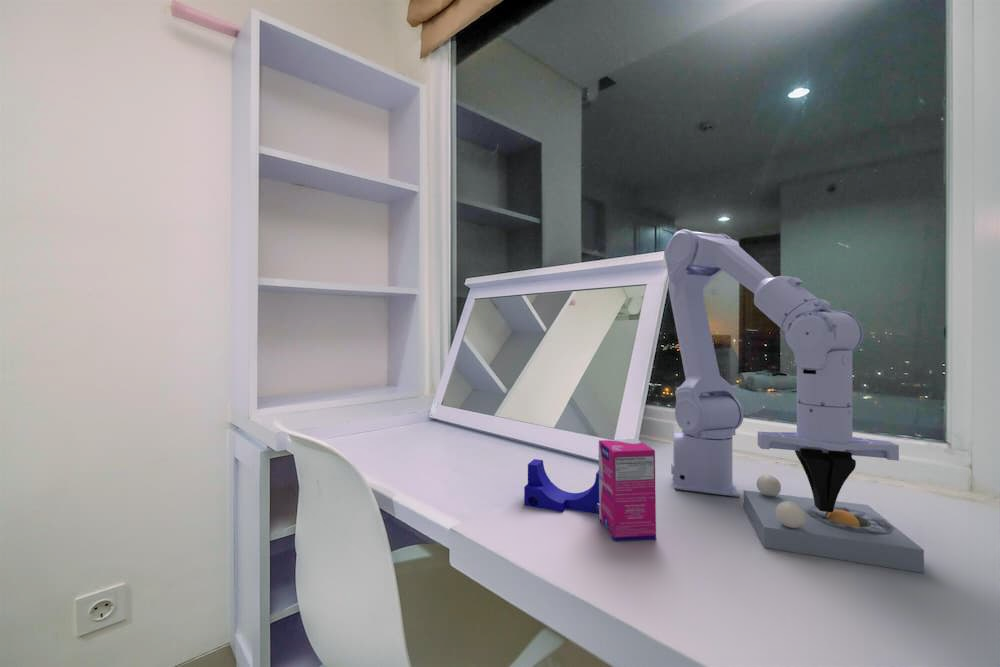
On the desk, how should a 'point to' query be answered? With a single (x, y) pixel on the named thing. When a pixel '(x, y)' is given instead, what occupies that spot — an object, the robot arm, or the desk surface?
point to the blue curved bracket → (557, 493)
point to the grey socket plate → (834, 533)
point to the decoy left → (768, 485)
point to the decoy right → (790, 514)
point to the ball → (843, 518)
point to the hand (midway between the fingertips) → (823, 508)
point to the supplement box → (627, 489)
